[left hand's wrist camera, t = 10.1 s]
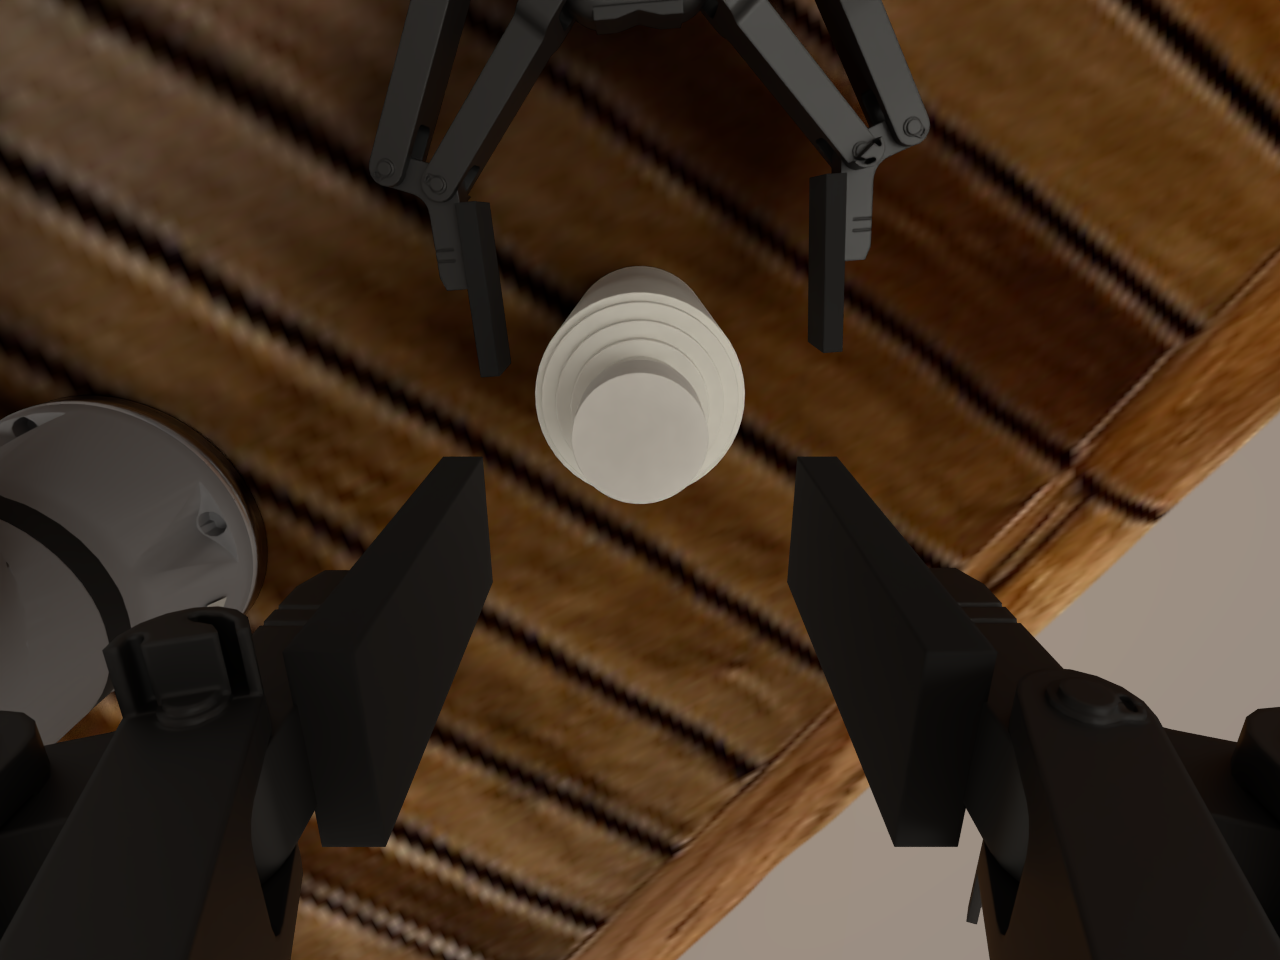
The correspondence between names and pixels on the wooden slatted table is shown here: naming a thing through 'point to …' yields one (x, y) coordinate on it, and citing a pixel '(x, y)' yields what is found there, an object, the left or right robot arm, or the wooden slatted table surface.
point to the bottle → (639, 355)
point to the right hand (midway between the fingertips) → (659, 359)
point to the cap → (640, 432)
